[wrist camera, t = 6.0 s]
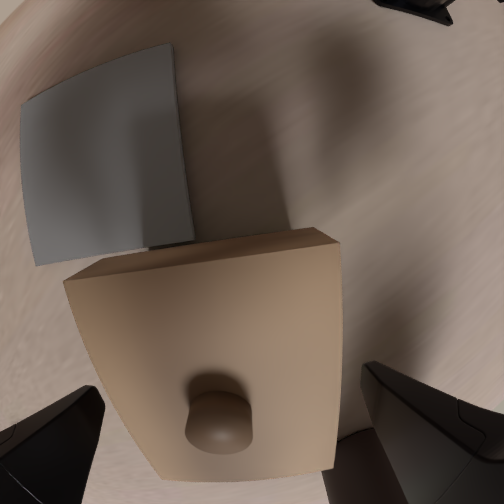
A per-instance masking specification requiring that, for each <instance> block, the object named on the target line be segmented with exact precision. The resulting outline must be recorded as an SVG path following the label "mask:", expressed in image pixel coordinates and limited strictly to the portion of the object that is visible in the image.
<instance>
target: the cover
mask: <svg viewBox="0 0 504 504" xmlns="http://www.w3.org/2000/svg"><path fill="white" fill-rule="evenodd" d="M63 284H64V288H65V291H66V294H67V297H68V301H69V304H70V307H71V310H72V313H73V316H74V318H75V321H76V324H77V327H78V329H79V332H80V335H81V337H82V340H83V342H84V345H85V347H86V350H87V352H88V354H89V357H90V359H91V361H92V363H93V366H94V368H95V370H96V372H97V374H98V376H99V379H100V381H101V383H102V385H103V387H104V389H105V391H106V393H107V395H108V396H109V398H110V400H111V402H112V404H113V406H114V408H115V409H116V411H117V413H118V415H119V416H120V418H121V420H122V422H123V423H124V425H125V427H126V428H127V430H128V432H129V433H130V435H131V436H132V438H133V439H134V441H135V443H136V444H137V446H138V447H139V449H140V450H141V452H142V453H143V454H144V456H145V457H146V459H147V460H148V462H149V463H150V464H151V466H152V467H153V469H154V470H155V471H156V473H157V474H158V475H159V476H160V478H161V479H162V480H172V481H187V482H240V481H255V480H266V479H275V478H283V477H290V476H296V475H302V474H308V473H313V472H318V471H323V470H327V469H332V468H333V466H334V459H335V451H336V442H337V433H338V422H339V410H340V396H341V377H342V342H343V311H342V276H341V256H340V243H339V242H338V241H336V240H334V239H333V238H331V237H329V236H328V235H326V234H324V233H323V232H321V231H319V230H317V229H316V228H314V227H311V228H303V229H296V230H288V231H281V232H274V233H266V234H259V235H252V236H245V237H238V238H231V239H224V240H218V241H211V242H204V243H197V244H191V245H184V246H178V247H171V248H165V249H158V250H152V251H146V252H139V253H133V254H127V255H121V256H115V257H109V258H103V259H101V260H99V261H97V262H96V263H94V264H92V265H90V266H88V267H87V268H85V269H83V270H81V271H80V272H78V273H76V274H75V275H73V276H71V277H69V278H68V279H66V280H64V281H63Z"/></svg>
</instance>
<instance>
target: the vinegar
mask: <svg viewBox="0 0 504 504" xmlns="http://www.w3.org/2000/svg"><path fill="white" fill-rule="evenodd" d="M321 472H322V476H323V480H324V483H325V487H326V491H327V496H328V500H329V504H409V503H408V501H407V499H406V496H405V494H404V492H403V489H402V487H401V485H400V483H399V480H398V478H397V476H396V474H395V471H394V469H393V467H392V465H391V463H390V460H389V458H388V456H387V454H386V452H385V450H384V448H383V445H382V443H381V441H380V439H379V437H378V435H377V433H376V431H375V429H369V430H365V431H361V432H358V433H356V434H353V435H351V436H349V437H347V438H345V439H343V440H342V441H340V442H338V443H336V451H335V459H334V466H333V468H332V469H327V470H323V471H321Z"/></svg>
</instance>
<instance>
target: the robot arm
mask: <svg viewBox="0 0 504 504" xmlns="http://www.w3.org/2000/svg"><path fill="white" fill-rule="evenodd" d="M374 1H375V3H377V4H378V5H380V6H382V7H386V8H390V9H394V10H398V11H402V12H406V13H409V14H413V15H416V16H420V17H423V18H426V19H429V20H432V21H435V22H438V23H440V24H443V25H446V26H450V25H452V24H453V20H452V18H451V16H450V14H449V12H448V10H447V8H446V7H447V6H448V5H450V4H451V3H452V2H454V1H455V0H383V1H382V0H374ZM497 1H498V2H499V3H502V2H504V0H497ZM360 385H361V390H362V393H363V396H364V399H365V402H366V405H367V408H368V411H369V414H370V417H371V420H372V423H373V426H374V428H375V431H376V433H377V435H378V437H379V439H380V441H381V443H382V445H383V448H384V450H385V452H386V454H387V456H388V458H389V460H390V463H391V465H392V467H393V469H394V471H395V474H396V476H397V478H398V480H399V483H400V485H401V487H402V489H403V492H404V494H405V496H406V499H407V501H408V503H409V504H504V414H501V413H497V412H493V411H490V410H487V409H484V408H481V407H478V406H475V405H473V404H470V403H468V402H465V401H463V400H460V399H458V400H457V398H456V397H453V396H451V395H449V394H446V393H444V392H442V391H440V390H437V389H435V388H433V387H431V386H428V385H426V384H424V383H422V382H420V381H417V380H415V379H413V378H411V377H409V376H407V375H404V374H402V373H400V372H398V371H396V370H394V369H392V368H390V367H388V366H385V365H383V364H381V363H379V362H377V361H370V362H366V363H364V364H363V365H362V371H361V381H360ZM104 412H105V403H104V401H103V399H102V397H101V395H100V393H99V391H98V389H97V388H96V387H95V386H91V385H85V386H83V387H81V388H79V389H77V390H76V391H74V392H72V393H70V394H69V395H67V396H65V397H63V398H62V399H60V400H58V401H56V402H55V403H53V404H51V405H49V406H47V407H46V408H44V409H42V410H40V411H38V412H37V413H35V414H33V415H31V416H29V417H27V418H26V419H24V420H22V421H20V422H18V423H17V424H14V425H12V426H11V427H9V428H7V429H5V430H3V431H1V432H0V504H81V503H82V499H83V495H84V491H85V487H86V483H87V479H88V476H89V472H90V469H91V465H92V462H93V458H94V455H95V451H96V448H97V445H98V441H99V436H100V431H101V426H102V422H103V417H104Z"/></svg>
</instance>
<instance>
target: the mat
mask: <svg viewBox="0 0 504 504" xmlns="http://www.w3.org/2000/svg"><path fill="white" fill-rule="evenodd" d="M20 162H21V179H22V190H23V199H24V207H25V214H26V221H27V227H28V232H29V238H30V243H31V247H32V252H33V256H34V261H35V265H36V266H40V265H45V264H51V263H56V262H62V261H68V260H73V259H79V258H85V257H91V256H97V255H103V254H109V253H115V252H121V251H127V250H133V249H139V248H146V247H152V246H158V245H165V244H171V243H178V242H185V241H191V240H194V239H195V238H196V237H195V231H194V225H193V219H192V213H191V206H190V200H189V193H188V186H187V179H186V172H185V164H184V157H183V149H182V140H181V132H180V122H179V113H178V103H177V92H176V80H175V67H174V52H173V46H172V44H171V42H170V43H166V44H162V45H159V46H155V47H151V48H148V49H144V50H141V51H138V52H135V53H132V54H129V55H126V56H123V57H120V58H117V59H114V60H112V61H109V62H106V63H104V64H101V65H99V66H96V67H94V68H91V69H89V70H87V71H84V72H82V73H80V74H78V75H76V76H73V77H71V78H69V79H67V80H65V81H63V82H61V83H59V84H57V85H55V86H53V87H52V88H50V89H48V90H46V91H44V92H42V93H41V94H39V95H37V96H35V97H34V98H32V99H30V100H29V101H27V102H25V103H24V104H22V105H21V118H20Z"/></svg>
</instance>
